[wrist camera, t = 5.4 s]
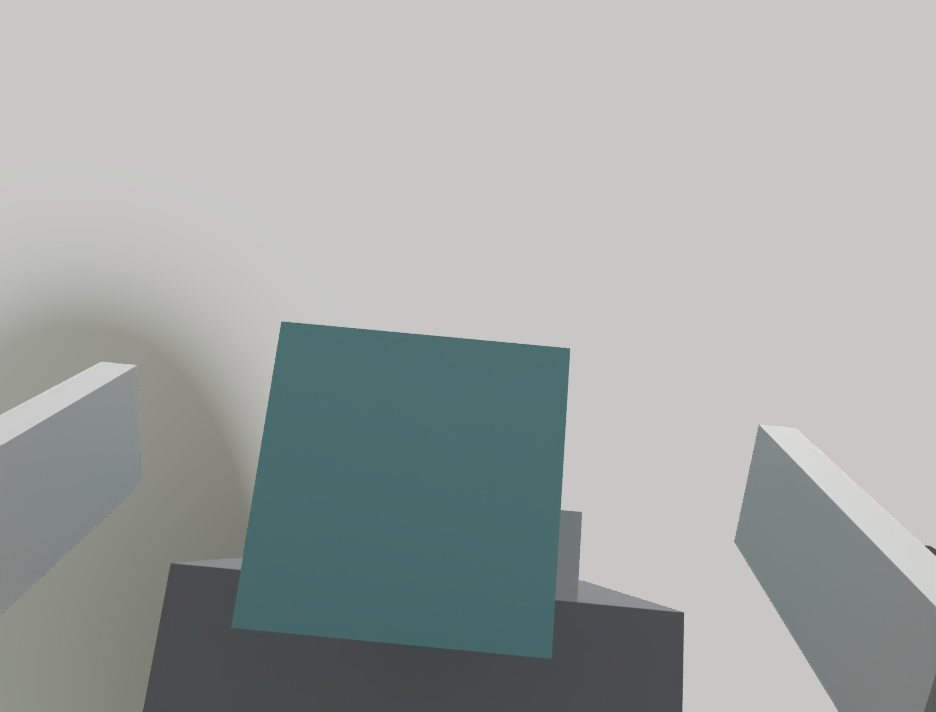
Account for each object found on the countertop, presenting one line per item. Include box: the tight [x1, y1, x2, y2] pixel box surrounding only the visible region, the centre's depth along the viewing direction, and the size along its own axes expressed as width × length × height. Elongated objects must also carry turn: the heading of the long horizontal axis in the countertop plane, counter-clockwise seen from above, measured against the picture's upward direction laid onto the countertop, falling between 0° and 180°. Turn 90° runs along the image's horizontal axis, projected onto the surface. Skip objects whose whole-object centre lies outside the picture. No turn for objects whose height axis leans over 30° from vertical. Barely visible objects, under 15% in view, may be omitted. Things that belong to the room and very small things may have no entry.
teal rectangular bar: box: [231, 322, 570, 659], centre depth 22 cm, size 26×4×4 cm, turn 1°
